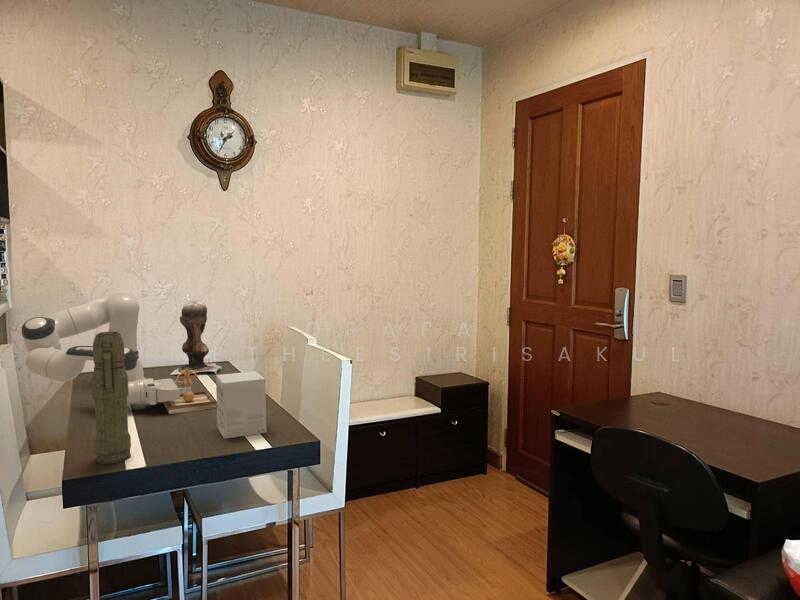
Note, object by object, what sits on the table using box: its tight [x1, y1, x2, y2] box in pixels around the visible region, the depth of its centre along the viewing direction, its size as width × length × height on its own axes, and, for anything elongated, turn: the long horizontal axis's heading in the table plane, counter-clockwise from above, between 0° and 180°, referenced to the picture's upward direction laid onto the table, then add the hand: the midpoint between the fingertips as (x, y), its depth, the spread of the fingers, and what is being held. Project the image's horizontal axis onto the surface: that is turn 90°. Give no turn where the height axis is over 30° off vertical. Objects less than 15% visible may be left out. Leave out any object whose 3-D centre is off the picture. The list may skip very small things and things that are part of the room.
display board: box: [162, 390, 217, 415], centre depth 211 cm, size 18×16×2 cm
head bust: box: [169, 300, 223, 376], centre depth 271 cm, size 22×25×35 cm
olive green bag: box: [91, 331, 132, 465], centre depth 156 cm, size 9×12×35 cm
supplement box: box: [215, 370, 268, 439], centre depth 181 cm, size 13×13×18 cm
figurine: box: [175, 369, 200, 402], centre depth 211 cm, size 8×6×12 cm
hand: (189, 386), depth 210 cm, fingers open, 8 cm apart
